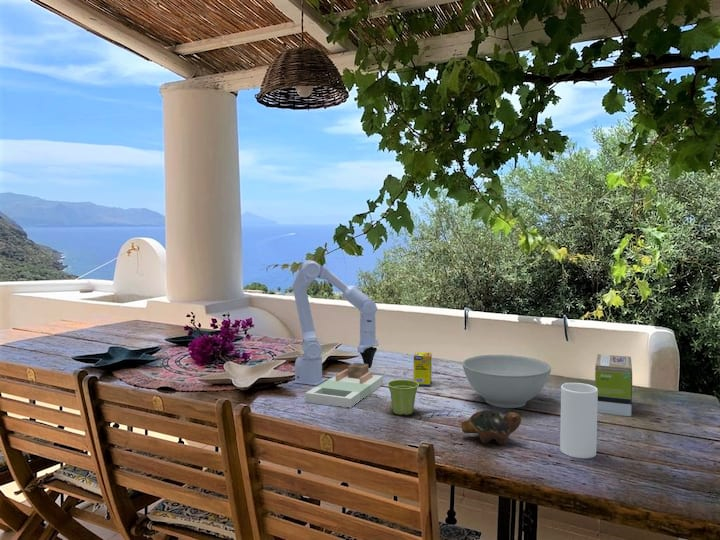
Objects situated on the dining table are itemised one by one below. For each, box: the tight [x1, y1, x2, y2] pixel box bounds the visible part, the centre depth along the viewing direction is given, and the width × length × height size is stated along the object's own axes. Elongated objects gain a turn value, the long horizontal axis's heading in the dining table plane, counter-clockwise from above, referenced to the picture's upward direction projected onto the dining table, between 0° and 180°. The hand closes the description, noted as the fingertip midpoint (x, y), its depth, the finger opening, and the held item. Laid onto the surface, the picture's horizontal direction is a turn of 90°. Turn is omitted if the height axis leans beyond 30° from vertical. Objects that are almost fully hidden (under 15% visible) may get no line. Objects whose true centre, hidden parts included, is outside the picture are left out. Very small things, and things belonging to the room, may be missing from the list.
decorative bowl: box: [462, 354, 552, 409], centre depth 168 cm, size 27×27×12 cm
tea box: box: [594, 353, 633, 417], centre depth 162 cm, size 15×10×15 cm, turn 154°
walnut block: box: [347, 362, 369, 379], centre depth 188 cm, size 6×6×4 cm
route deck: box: [304, 368, 385, 409], centre depth 179 cm, size 16×28×5 cm, turn 156°
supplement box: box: [413, 351, 433, 388], centre depth 188 cm, size 6×6×11 cm
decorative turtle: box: [460, 409, 522, 446], centre depth 137 cm, size 10×15×8 cm, turn 80°
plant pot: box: [387, 379, 420, 416], centre depth 160 cm, size 9×9×9 cm
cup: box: [559, 382, 598, 459], centre depth 130 cm, size 8×8×16 cm
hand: (368, 367), depth 197 cm, fingers closed
